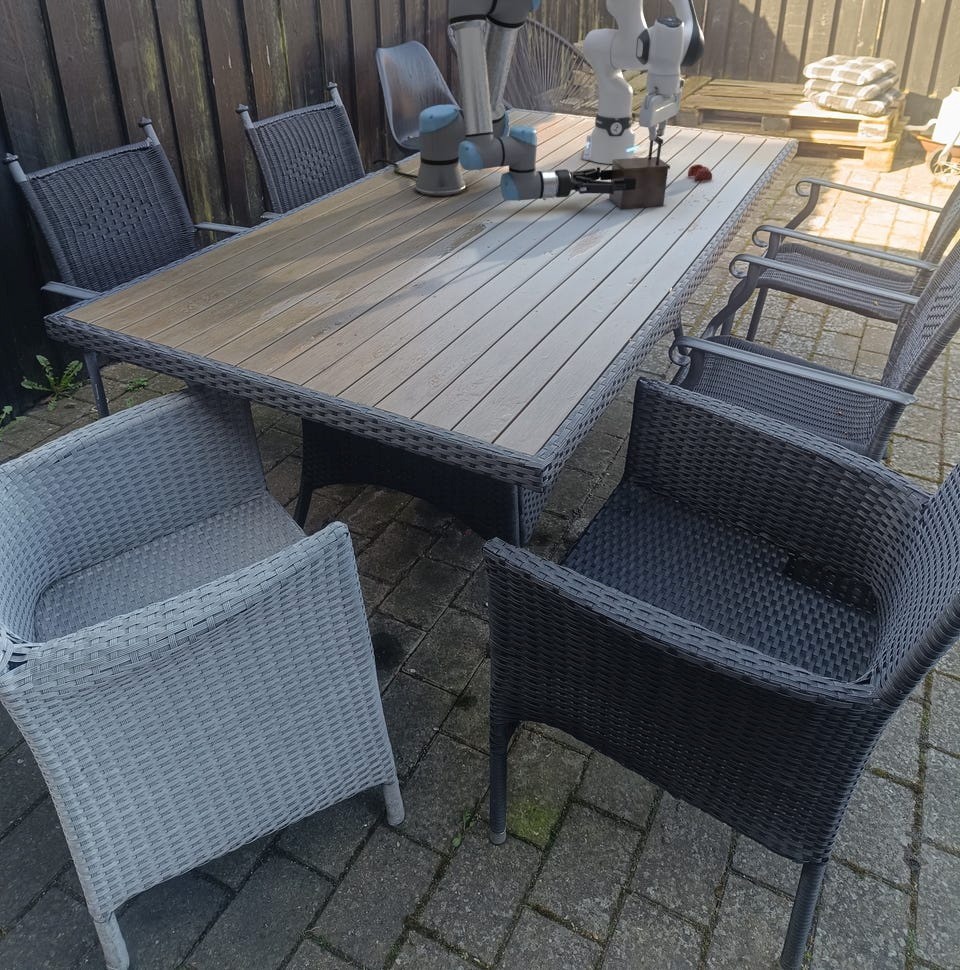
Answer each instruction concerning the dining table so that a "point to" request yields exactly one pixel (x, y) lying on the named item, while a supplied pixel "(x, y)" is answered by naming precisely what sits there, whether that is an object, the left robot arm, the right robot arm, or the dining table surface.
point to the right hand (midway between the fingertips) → (656, 137)
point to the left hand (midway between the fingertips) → (628, 179)
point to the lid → (643, 160)
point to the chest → (640, 188)
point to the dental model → (700, 173)
